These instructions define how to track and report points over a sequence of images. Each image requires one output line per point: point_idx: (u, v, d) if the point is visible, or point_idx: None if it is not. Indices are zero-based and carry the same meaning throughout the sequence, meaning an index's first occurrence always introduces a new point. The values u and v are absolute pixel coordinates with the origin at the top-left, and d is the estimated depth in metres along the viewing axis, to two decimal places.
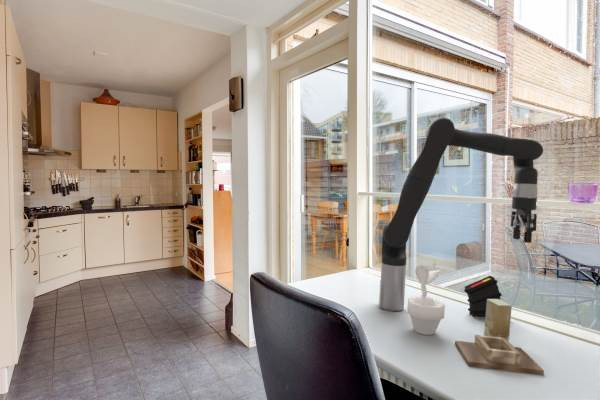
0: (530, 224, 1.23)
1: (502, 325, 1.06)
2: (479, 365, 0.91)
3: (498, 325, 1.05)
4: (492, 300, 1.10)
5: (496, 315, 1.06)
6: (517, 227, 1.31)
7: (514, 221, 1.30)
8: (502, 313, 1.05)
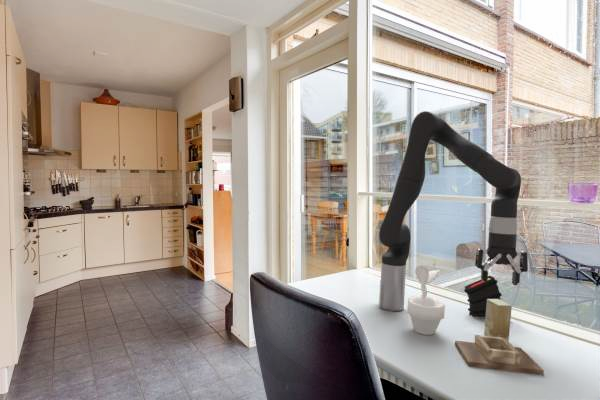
0: None
1: (502, 325, 1.06)
2: (479, 365, 0.91)
3: (498, 325, 1.05)
4: (492, 300, 1.09)
5: (496, 315, 1.06)
6: None
7: (493, 262, 1.07)
8: (502, 313, 1.05)
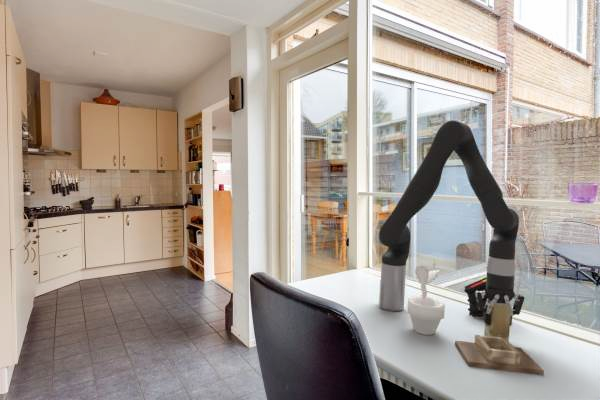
0: None
1: (502, 325, 1.06)
2: (479, 365, 0.91)
3: (498, 325, 1.05)
4: None
5: (496, 315, 1.06)
6: None
7: (493, 304, 1.07)
8: (502, 313, 1.05)
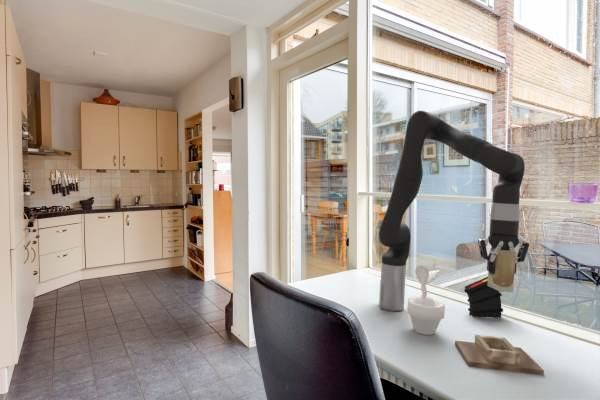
0: None
1: (507, 272, 1.02)
2: (479, 365, 0.91)
3: (502, 272, 1.02)
4: None
5: (500, 262, 1.03)
6: None
7: (497, 251, 1.04)
8: (506, 259, 1.02)
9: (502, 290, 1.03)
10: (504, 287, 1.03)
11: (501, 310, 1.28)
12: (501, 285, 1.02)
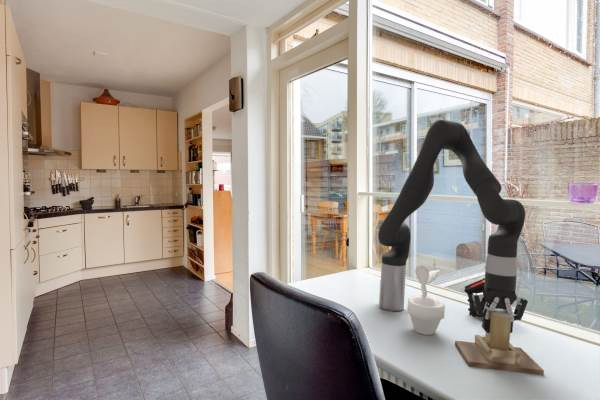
0: None
1: (499, 338, 0.93)
2: (479, 365, 0.91)
3: (493, 337, 0.93)
4: None
5: (492, 326, 0.94)
6: None
7: (493, 308, 0.94)
8: (499, 324, 0.93)
9: None
10: None
11: None
12: None
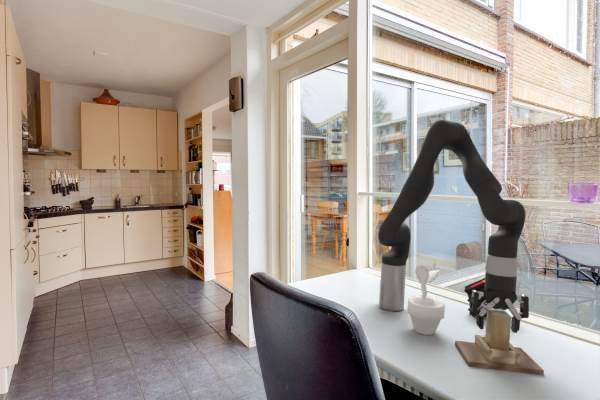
0: None
1: (499, 338, 0.93)
2: (479, 365, 0.91)
3: (493, 337, 0.93)
4: (492, 309, 0.97)
5: (492, 325, 0.94)
6: None
7: (490, 307, 0.95)
8: (499, 324, 0.93)
9: None
10: None
11: None
12: None
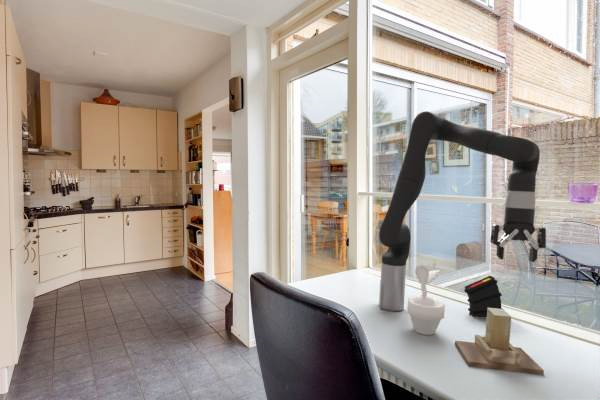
0: None
1: (499, 338, 0.93)
2: (479, 365, 0.91)
3: (493, 337, 0.93)
4: (492, 309, 0.97)
5: (492, 325, 0.94)
6: None
7: (509, 238, 1.03)
8: (499, 324, 0.93)
9: None
10: None
11: None
12: None
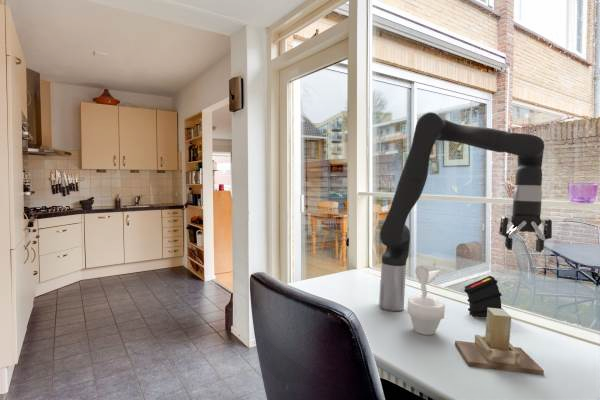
0: None
1: (499, 338, 0.93)
2: (479, 365, 0.91)
3: (493, 337, 0.93)
4: (492, 309, 0.97)
5: (492, 325, 0.94)
6: None
7: (518, 229, 1.09)
8: (499, 324, 0.93)
9: None
10: None
11: None
12: None
